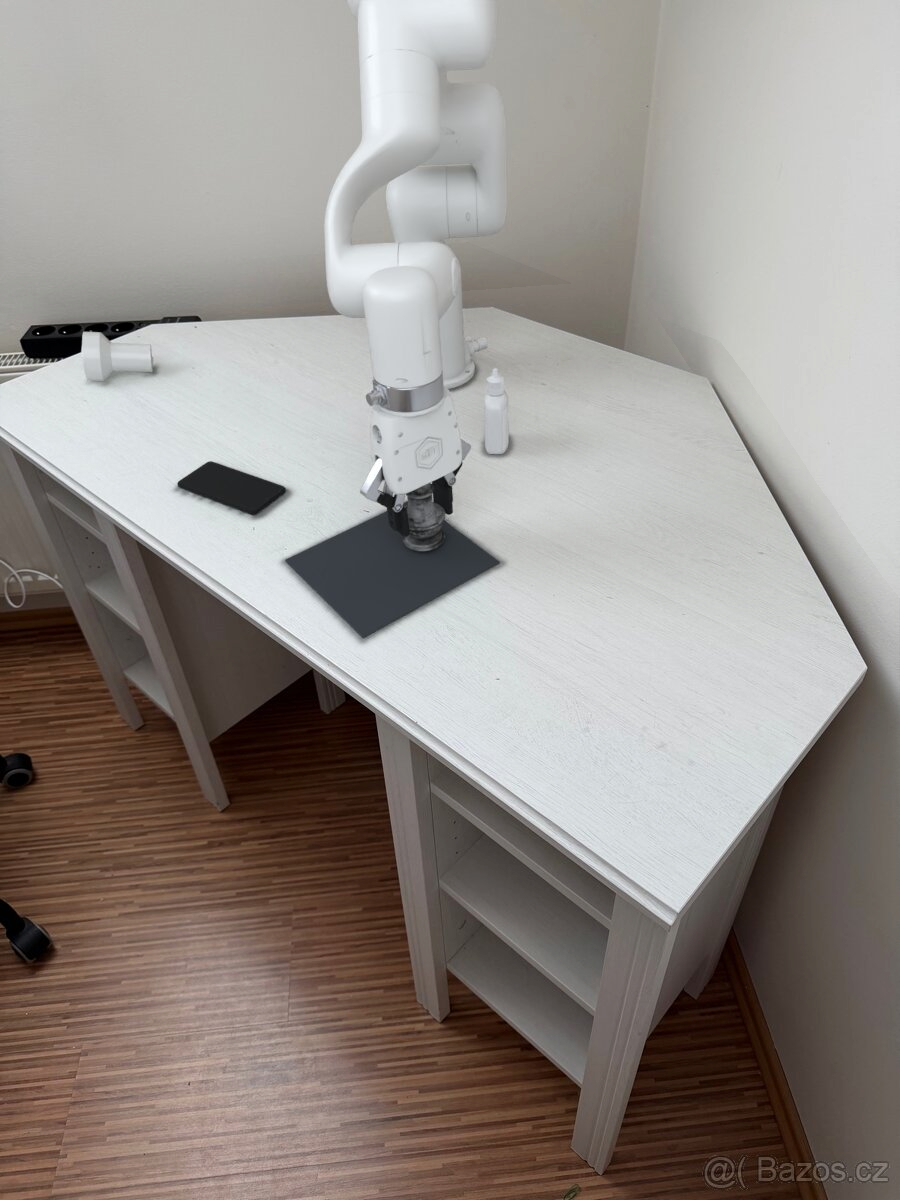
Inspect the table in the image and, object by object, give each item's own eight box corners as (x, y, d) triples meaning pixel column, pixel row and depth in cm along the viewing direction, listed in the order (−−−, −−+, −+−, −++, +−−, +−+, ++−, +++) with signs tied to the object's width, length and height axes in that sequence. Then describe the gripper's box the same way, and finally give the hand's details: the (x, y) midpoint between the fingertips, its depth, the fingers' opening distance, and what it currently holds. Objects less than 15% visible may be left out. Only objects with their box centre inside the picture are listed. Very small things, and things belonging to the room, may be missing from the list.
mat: (414, 499, 113) (414, 497, 113) (499, 563, 102) (499, 561, 102) (285, 561, 104) (284, 559, 104) (362, 638, 93) (362, 636, 93)
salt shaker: (442, 554, 102) (435, 472, 94) (395, 550, 103) (385, 469, 95) (451, 525, 106) (445, 444, 98) (406, 522, 107) (397, 441, 99)
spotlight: (86, 361, 147) (80, 321, 141) (154, 363, 150) (151, 324, 144) (84, 390, 142) (77, 349, 136) (154, 391, 145) (150, 352, 139)
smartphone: (209, 459, 122) (287, 486, 115) (210, 464, 122) (288, 491, 116) (174, 483, 117) (253, 512, 111) (176, 488, 118) (255, 517, 111)
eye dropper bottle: (519, 440, 122) (519, 364, 114) (498, 458, 119) (497, 381, 111) (494, 432, 124) (493, 357, 116) (473, 450, 121) (470, 374, 113)
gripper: (361, 429, 85) (381, 564, 97) (492, 373, 92) (495, 506, 104) (323, 402, 89) (347, 535, 102) (450, 351, 97) (458, 480, 109)
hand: (422, 519), depth 103 cm, fingers closed on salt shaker, 5 cm apart
